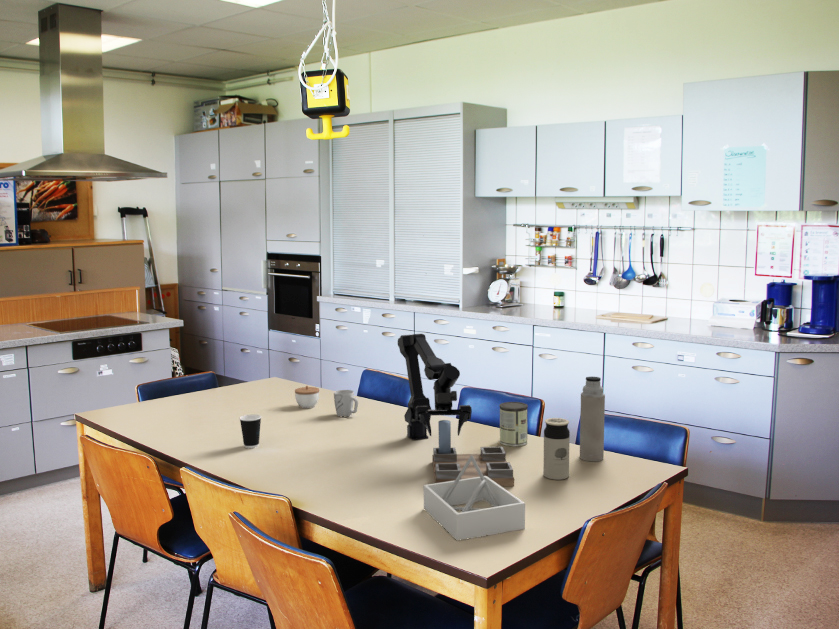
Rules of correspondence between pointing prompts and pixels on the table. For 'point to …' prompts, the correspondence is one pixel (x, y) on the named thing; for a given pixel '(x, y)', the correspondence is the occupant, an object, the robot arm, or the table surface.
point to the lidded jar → (307, 396)
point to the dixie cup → (250, 430)
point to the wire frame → (476, 492)
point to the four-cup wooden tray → (488, 463)
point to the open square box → (477, 521)
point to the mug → (345, 402)
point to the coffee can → (513, 423)
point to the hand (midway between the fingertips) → (444, 435)
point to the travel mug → (556, 449)
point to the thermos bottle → (592, 420)
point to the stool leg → (444, 437)
